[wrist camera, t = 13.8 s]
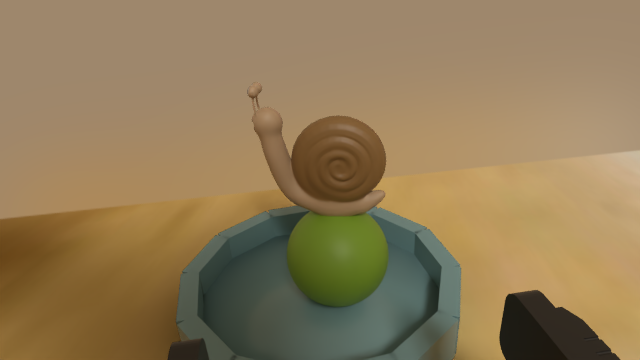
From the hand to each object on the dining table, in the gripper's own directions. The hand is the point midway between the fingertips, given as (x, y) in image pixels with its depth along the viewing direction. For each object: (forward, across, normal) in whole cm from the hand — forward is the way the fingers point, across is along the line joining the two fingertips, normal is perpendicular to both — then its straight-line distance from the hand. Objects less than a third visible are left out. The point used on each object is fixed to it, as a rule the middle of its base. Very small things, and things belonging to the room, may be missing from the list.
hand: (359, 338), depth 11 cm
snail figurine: (+11, -1, +8) cm, 13 cm away
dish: (+11, 0, +8) cm, 14 cm away
